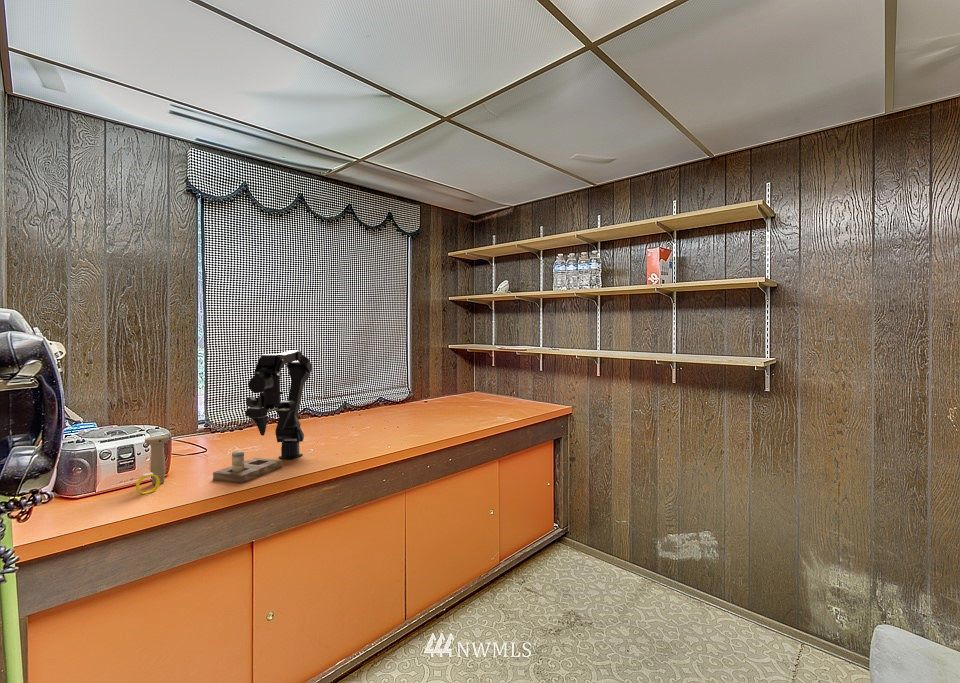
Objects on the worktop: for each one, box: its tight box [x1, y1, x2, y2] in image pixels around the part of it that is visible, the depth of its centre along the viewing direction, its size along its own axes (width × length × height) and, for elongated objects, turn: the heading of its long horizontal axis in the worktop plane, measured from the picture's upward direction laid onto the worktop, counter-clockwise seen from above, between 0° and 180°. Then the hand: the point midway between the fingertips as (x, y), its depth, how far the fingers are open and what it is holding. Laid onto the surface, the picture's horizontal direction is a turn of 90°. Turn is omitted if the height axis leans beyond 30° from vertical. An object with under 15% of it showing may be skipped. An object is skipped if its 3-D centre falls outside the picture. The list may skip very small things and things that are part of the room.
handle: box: [144, 434, 170, 486], centre depth 147 cm, size 5×6×15 cm
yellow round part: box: [135, 472, 161, 495], centre depth 139 cm, size 6×3×6 cm, turn 151°
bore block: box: [212, 457, 283, 484], centre depth 158 cm, size 18×12×2 cm, turn 163°
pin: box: [231, 450, 245, 473], centre depth 154 cm, size 4×4×8 cm
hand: (272, 432), depth 163 cm, fingers open, 9 cm apart
